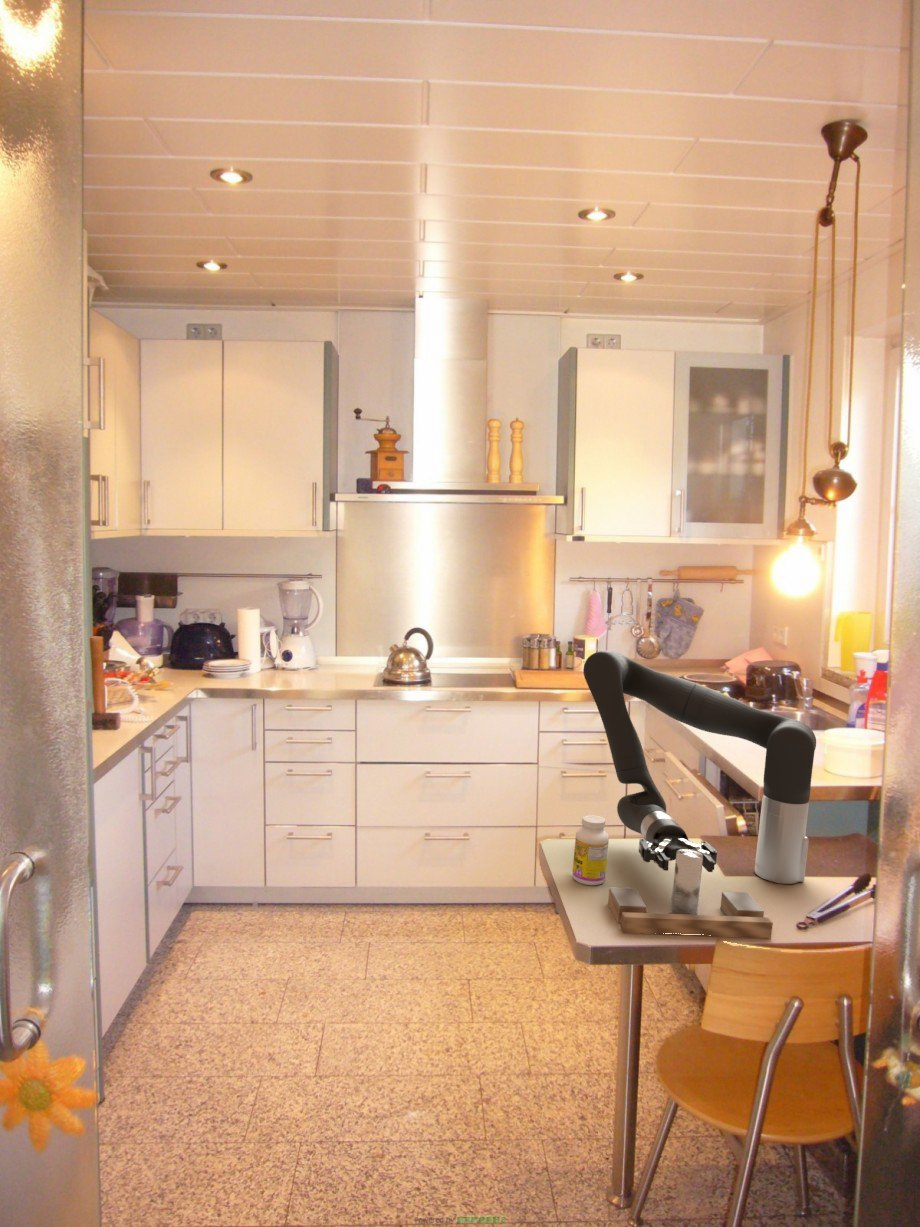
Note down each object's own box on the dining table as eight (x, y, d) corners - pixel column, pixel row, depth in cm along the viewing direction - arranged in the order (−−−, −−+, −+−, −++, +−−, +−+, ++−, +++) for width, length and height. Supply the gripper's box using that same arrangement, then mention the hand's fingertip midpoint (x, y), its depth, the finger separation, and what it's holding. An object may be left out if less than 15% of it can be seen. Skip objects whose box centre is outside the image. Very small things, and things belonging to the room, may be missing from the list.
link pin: (691, 910, 171) (698, 849, 170) (700, 921, 166) (706, 859, 165) (667, 909, 171) (673, 848, 169) (674, 920, 166) (681, 858, 165)
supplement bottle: (569, 872, 185) (574, 812, 184) (600, 873, 186) (605, 813, 184) (575, 886, 179) (581, 823, 177) (608, 887, 179) (614, 825, 178)
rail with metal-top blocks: (745, 908, 173) (747, 892, 173) (770, 938, 161) (772, 920, 161) (608, 903, 171) (609, 887, 171) (623, 933, 159) (625, 915, 159)
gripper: (630, 816, 183) (653, 845, 167) (699, 818, 184) (728, 848, 168) (627, 851, 183) (650, 884, 167) (695, 853, 185) (724, 887, 169)
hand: (689, 866), depth 168 cm, fingers open, 8 cm apart
